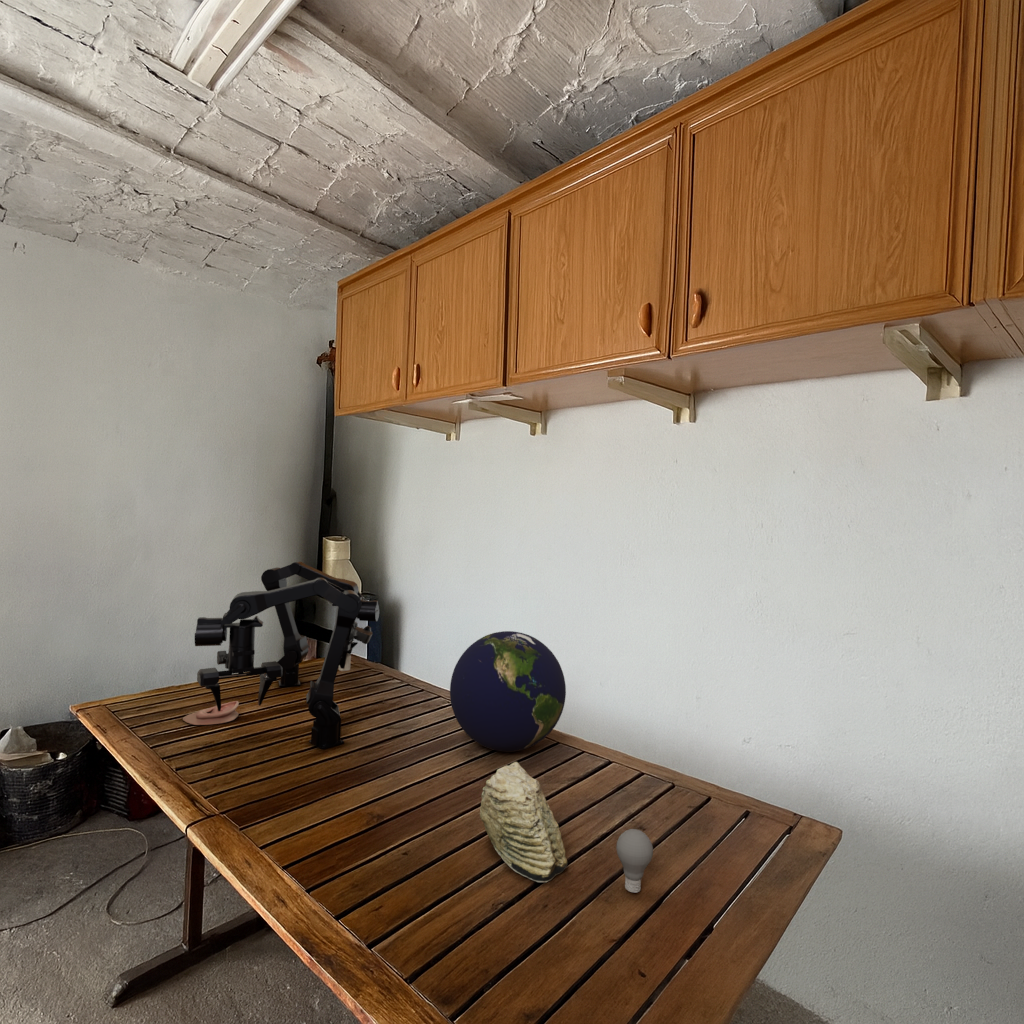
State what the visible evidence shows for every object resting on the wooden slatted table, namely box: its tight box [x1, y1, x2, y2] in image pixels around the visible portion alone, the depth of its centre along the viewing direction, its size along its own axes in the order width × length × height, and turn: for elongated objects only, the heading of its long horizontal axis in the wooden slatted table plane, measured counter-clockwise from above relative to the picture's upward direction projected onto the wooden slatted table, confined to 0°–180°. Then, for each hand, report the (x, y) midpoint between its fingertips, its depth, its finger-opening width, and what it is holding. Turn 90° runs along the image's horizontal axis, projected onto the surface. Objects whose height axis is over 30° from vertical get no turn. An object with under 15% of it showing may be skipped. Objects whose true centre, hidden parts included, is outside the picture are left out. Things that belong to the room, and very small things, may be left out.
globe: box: [449, 630, 567, 753], centre depth 164 cm, size 30×30×30 cm
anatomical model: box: [182, 700, 240, 726], centre depth 176 cm, size 13×4×12 cm
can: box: [338, 653, 352, 672], centre depth 210 cm, size 4×4×5 cm
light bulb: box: [615, 828, 654, 894], centre depth 106 cm, size 6×6×10 cm
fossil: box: [479, 761, 569, 883], centre depth 114 cm, size 9×18×15 cm, turn 46°
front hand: (239, 707), depth 155 cm, fingers open, 9 cm apart
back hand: (344, 666), depth 210 cm, fingers closed on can, 4 cm apart
